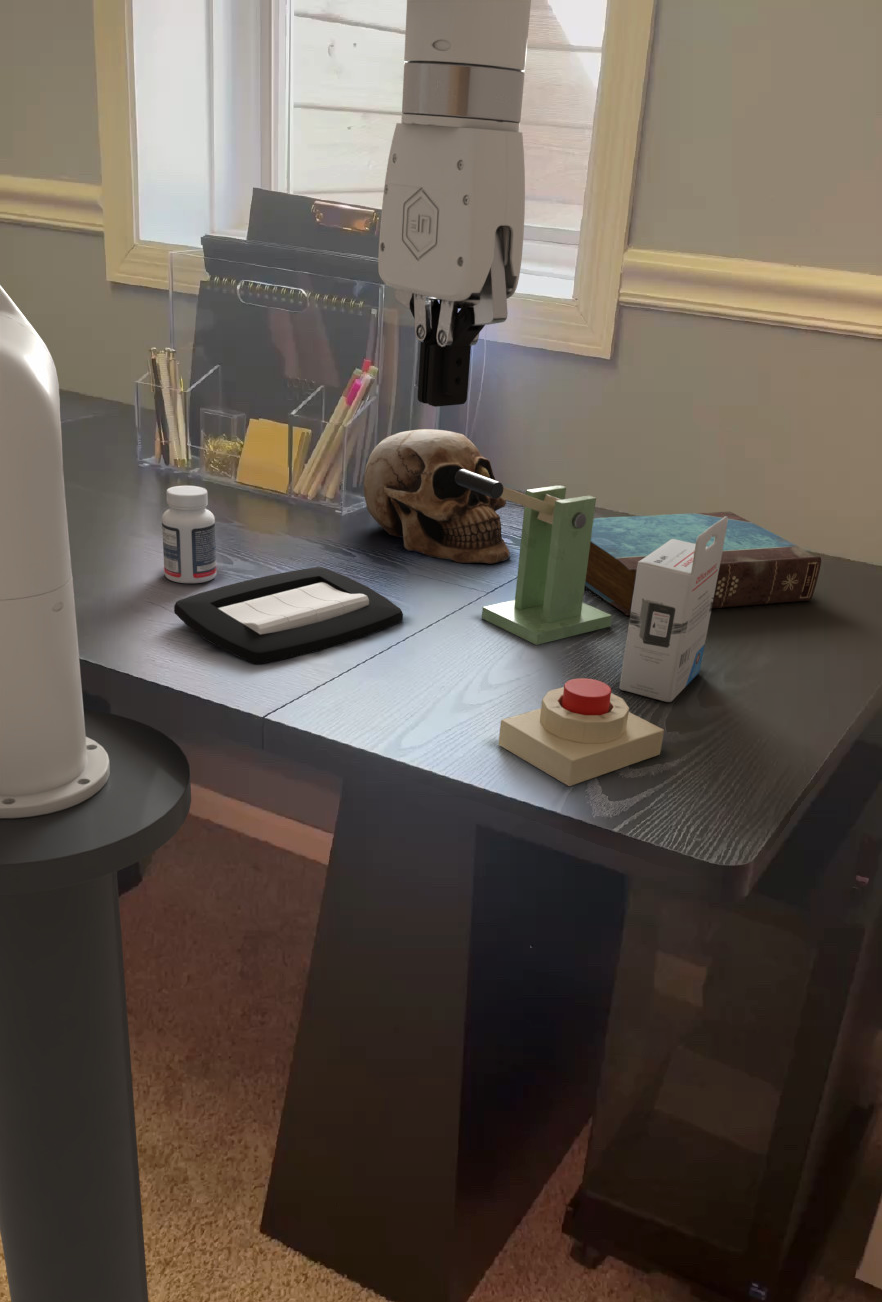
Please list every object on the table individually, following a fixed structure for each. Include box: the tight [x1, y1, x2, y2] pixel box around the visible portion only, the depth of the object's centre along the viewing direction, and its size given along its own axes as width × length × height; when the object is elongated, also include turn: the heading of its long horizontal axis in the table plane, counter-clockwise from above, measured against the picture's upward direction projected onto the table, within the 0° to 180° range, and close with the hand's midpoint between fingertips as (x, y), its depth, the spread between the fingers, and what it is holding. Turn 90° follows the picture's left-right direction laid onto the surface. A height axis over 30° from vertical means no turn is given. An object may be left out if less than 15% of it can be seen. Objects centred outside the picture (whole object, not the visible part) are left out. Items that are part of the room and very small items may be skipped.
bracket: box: [481, 484, 613, 646], centre depth 115 cm, size 10×8×13 cm
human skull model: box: [363, 428, 511, 565], centre depth 137 cm, size 16×17×13 cm
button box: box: [498, 686, 665, 787], centre depth 93 cm, size 10×8×4 cm
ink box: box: [619, 516, 728, 703], centre depth 103 cm, size 9×5×15 cm, turn 151°
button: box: [562, 677, 612, 715], centre depth 91 cm, size 4×4×2 cm
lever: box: [455, 469, 561, 524], centre depth 109 cm, size 13×5×2 cm, turn 129°
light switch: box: [173, 566, 404, 665], centre depth 113 cm, size 20×3×14 cm
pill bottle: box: [161, 485, 218, 584], centre depth 121 cm, size 5×5×9 cm
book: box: [585, 511, 822, 616], centre depth 131 cm, size 23×18×5 cm
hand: (442, 402), depth 84 cm, fingers closed
